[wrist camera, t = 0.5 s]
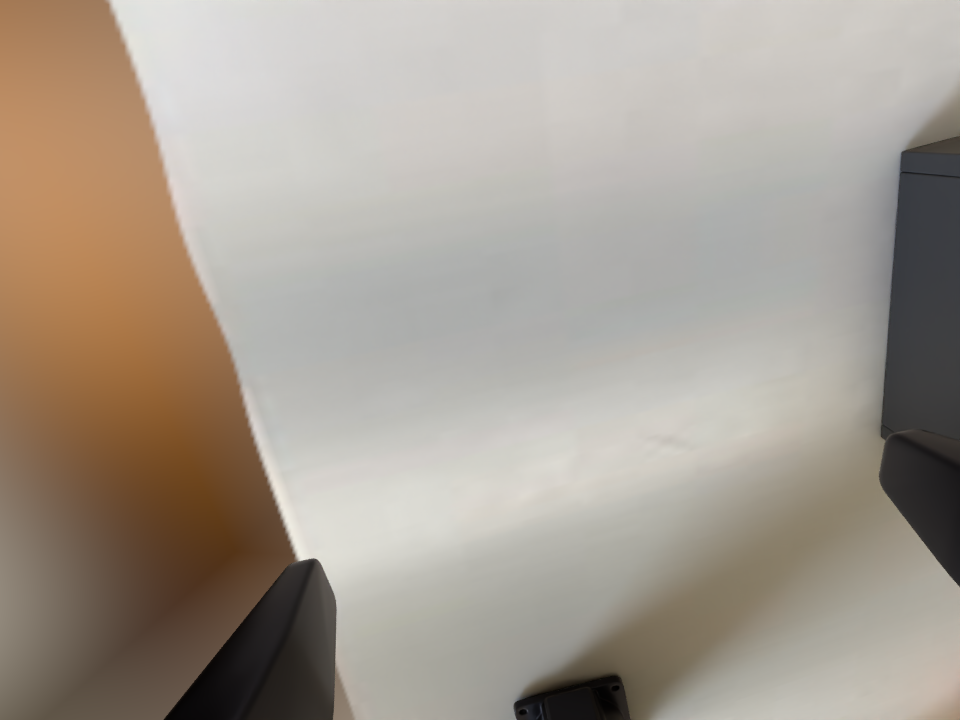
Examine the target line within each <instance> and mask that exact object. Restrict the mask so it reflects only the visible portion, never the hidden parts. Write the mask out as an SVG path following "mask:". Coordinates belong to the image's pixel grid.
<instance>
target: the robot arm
mask: <svg viewBox="0 0 960 720" xmlns="http://www.w3.org/2000/svg"><path fill="white" fill-rule="evenodd" d="M879 480H880V483H881V486H882V488H883V490H884V491H885V493H886V494H887V496H888V497H889V498H890V499H891V501H892V502H893V503H894V505H895V506H896V507H897V508H898V510H899V511H900V512H901V514H902V515H903V516H904V518H905V519H906V520H907V521H908V523H909V524H910V525H911V527H912V528H913V529H914V530H915V532H916V533H917V534H918V536H919V537H920V538H921V540H922V541H923V542H924V543H925V545H926V546H927V547H928V549H929V550H930V551H931V553H932V554H933V555H934V556H935V558H936V559H937V560H938V562H939V563H940V564H941V565H942V567H943V568H944V569H945V570H946V571H947V573H948V574H949V575H950V576H951V578H952V579H953V580H954V581H955V582H956V583H957V584H958V585H959V587H960V440H957V439H953V438H950V437H946V436H943V435H939V434H936V433H933V432H929V431H926V430H922V429H910V430H906V431H901V432H897V433H893V434H891V435H889V436H888V437H887V439H886V441H885V445H884V450H883V455H882V461H881V466H880V471H879ZM335 648H336V600H335V596H334V593H333V590H332V588H331V586H330V584H329V581H328V579H327V577H326V574H325V572H324V570H323V568H322V565H321V563H320V562H319V561H318V560H317V559H308V560H303V561H298V562H294V563H292V564H290V565H289V566H287V568H286V569H285V570H284V571H283V572H282V574H281V575H280V576H279V577H278V579H277V580H276V581H275V582H274V583H273V585H272V586H271V587H270V588H269V590H268V591H267V592H266V593H265V595H264V596H263V597H262V598H261V600H260V601H259V602H258V603H257V605H256V606H255V607H254V608H253V609H252V611H251V612H250V613H249V614H248V616H247V617H246V618H245V619H244V621H243V622H242V623H241V624H240V626H239V627H238V628H237V629H236V631H235V632H234V633H233V634H232V636H231V637H230V638H229V639H228V640H227V642H226V643H225V644H224V645H223V647H222V648H221V649H220V650H219V652H218V653H217V654H216V655H215V657H214V658H213V659H212V660H211V662H210V663H209V664H208V665H207V666H206V668H205V669H204V670H203V671H202V673H201V674H200V675H199V676H198V678H197V679H196V680H195V681H194V683H193V684H192V685H191V686H190V688H189V689H188V690H187V692H185V694H184V695H183V696H182V697H181V699H180V700H179V701H178V702H177V704H176V705H175V706H174V707H173V709H172V710H171V711H170V712H169V714H168V715H167V716H166V717H165V719H164V720H333V712H334V686H335ZM514 712H515V716H516V719H517V720H630V715H629V711H628V706H627V701H626V696H625V691H624V686H623V683H622V680H621V678H620V677H618V676H611V677H607V678H604V679H600V680H596V681H592V682H588V683H584V684H580V685H576V686H572V687H569V688H565V689H561V690H557V691H553V692H549V693H545V694H541V695H537V696H534V697H530V698H526V699H522V700H519V701H517V702H516V703H515V704H514Z"/></svg>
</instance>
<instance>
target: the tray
mask: <svg viewBox="0 0 960 720" xmlns="http://www.w3.org/2000/svg"><path fill="white" fill-rule="evenodd" d="M901 171H902V172H901V174H900V186H899V200H898V213H897V227H896V240H895V254H894V267H893V281H892V294H891V308H890V322H889V335H888V349H887V362H886V376H885V389H884V403H883V416H882V424H883V425H882V432H881V437H882V438H883V439H885V440H886V439H887V437H888V436H889V435H891V434H893V433H897V432H901V431H906V430H910V429H922V430H926V431H929V432H933V433H936V434H939V435H943V436H946V437H950V438H953V439H957V440H960V136H959V137H955V138H951V139H947V140H943V141H940V142H936V143H932V144H928V145H925V146H921V147H917V148H913V149H909V150H906V151H903V152H902V158H901Z"/></svg>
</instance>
